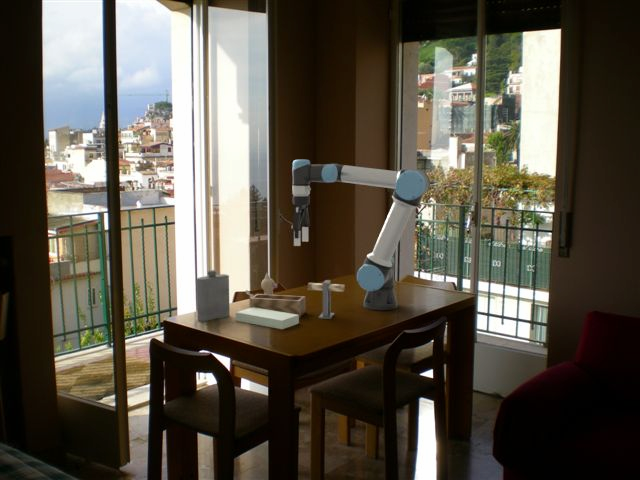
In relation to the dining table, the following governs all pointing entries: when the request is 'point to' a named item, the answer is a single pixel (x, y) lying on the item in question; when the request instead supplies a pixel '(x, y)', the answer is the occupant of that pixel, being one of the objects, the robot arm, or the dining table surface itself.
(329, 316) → the grey post stand
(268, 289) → the toy
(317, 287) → the light wooden bar
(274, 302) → the brown open box
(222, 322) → the dining table surface
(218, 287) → the flask
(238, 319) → the lid
